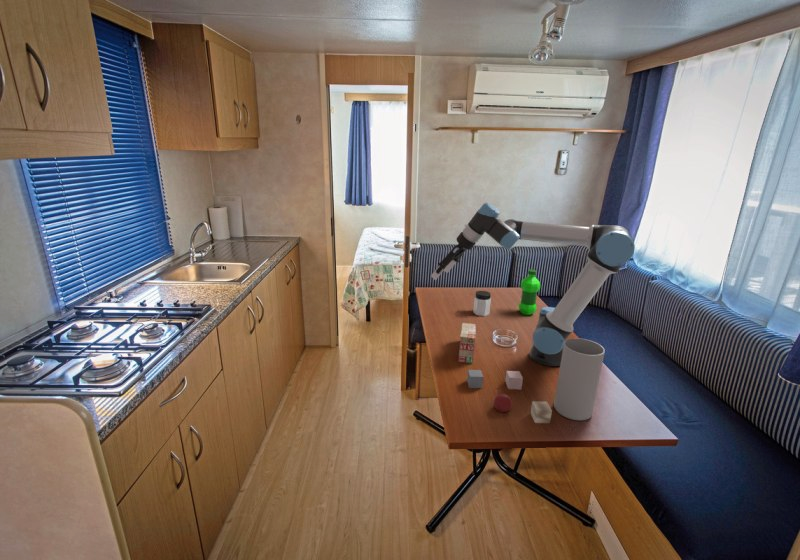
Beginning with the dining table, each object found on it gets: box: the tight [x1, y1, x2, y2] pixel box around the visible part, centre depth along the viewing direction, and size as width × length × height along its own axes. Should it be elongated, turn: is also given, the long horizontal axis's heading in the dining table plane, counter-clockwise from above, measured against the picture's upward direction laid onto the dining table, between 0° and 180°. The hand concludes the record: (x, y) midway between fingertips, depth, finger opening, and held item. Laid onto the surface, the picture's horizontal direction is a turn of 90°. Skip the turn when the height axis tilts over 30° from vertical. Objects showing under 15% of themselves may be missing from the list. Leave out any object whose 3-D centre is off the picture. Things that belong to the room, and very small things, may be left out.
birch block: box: [530, 400, 553, 424], centre depth 138 cm, size 5×5×5 cm
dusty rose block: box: [504, 370, 524, 390], centre depth 157 cm, size 5×5×5 cm
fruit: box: [493, 387, 513, 413], centre depth 144 cm, size 6×6×8 cm
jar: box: [472, 290, 492, 317], centre depth 226 cm, size 9×8×12 cm
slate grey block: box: [466, 369, 484, 389], centre depth 157 cm, size 5×5×5 cm
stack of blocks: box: [457, 322, 477, 364], centre depth 182 cm, size 21×6×12 cm, turn 169°
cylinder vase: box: [553, 337, 606, 421], centre depth 140 cm, size 12×12×25 cm
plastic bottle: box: [518, 269, 541, 316], centre depth 226 cm, size 10×10×25 cm
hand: (439, 274), depth 177 cm, fingers open, 13 cm apart
